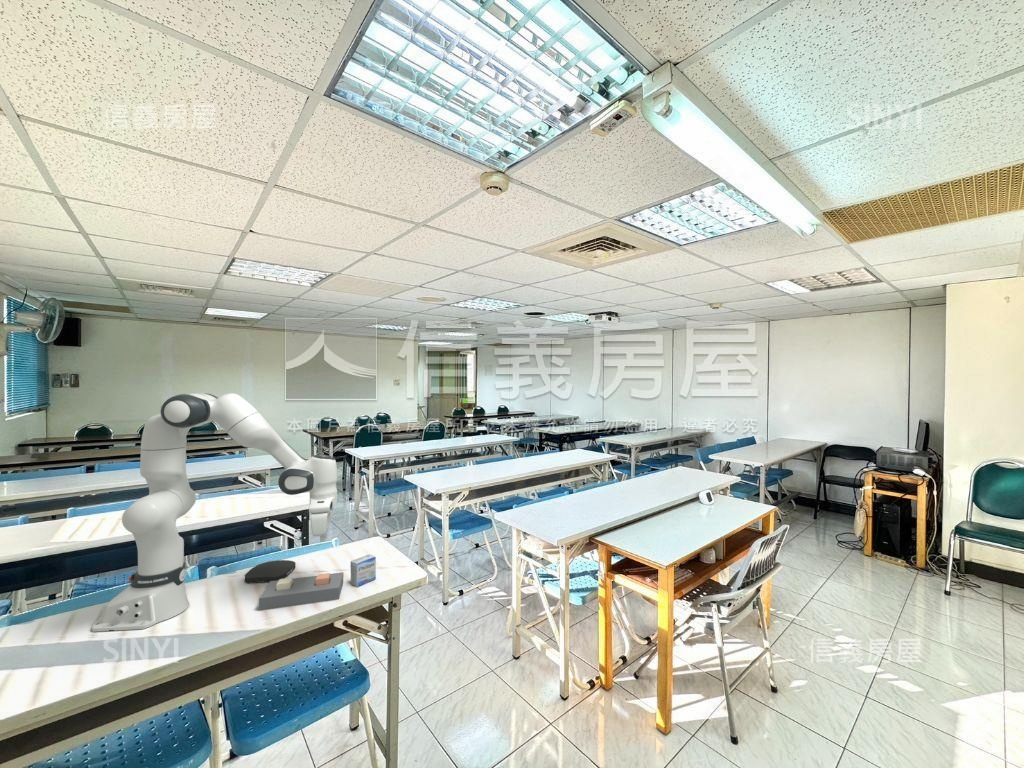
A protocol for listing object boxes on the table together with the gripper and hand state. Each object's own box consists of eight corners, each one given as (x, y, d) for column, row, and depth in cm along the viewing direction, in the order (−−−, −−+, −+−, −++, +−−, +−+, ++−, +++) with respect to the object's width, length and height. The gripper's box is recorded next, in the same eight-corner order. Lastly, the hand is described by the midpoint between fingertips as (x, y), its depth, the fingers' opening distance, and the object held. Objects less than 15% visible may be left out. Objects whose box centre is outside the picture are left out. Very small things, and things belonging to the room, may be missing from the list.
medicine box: (356, 587, 142) (357, 563, 142) (350, 584, 145) (350, 560, 145) (376, 579, 148) (376, 556, 149) (369, 576, 151) (369, 553, 151)
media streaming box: (261, 567, 160) (262, 560, 160) (299, 566, 161) (299, 558, 161) (239, 585, 145) (239, 576, 145) (280, 583, 146) (280, 575, 146)
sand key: (276, 593, 132) (276, 584, 132) (279, 587, 136) (279, 579, 136) (289, 591, 133) (289, 582, 133) (292, 586, 137) (292, 577, 137)
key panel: (258, 610, 127) (258, 598, 127) (270, 592, 139) (270, 581, 139) (338, 599, 134) (339, 587, 134) (343, 583, 146) (343, 572, 146)
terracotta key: (315, 588, 136) (315, 579, 136) (317, 582, 139) (317, 574, 140) (328, 586, 137) (328, 577, 137) (329, 581, 141) (330, 572, 141)
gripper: (319, 494, 148) (319, 531, 148) (307, 509, 128) (307, 552, 128) (337, 492, 150) (337, 529, 149) (328, 508, 130) (328, 550, 130)
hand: (323, 540), depth 138 cm, fingers closed
